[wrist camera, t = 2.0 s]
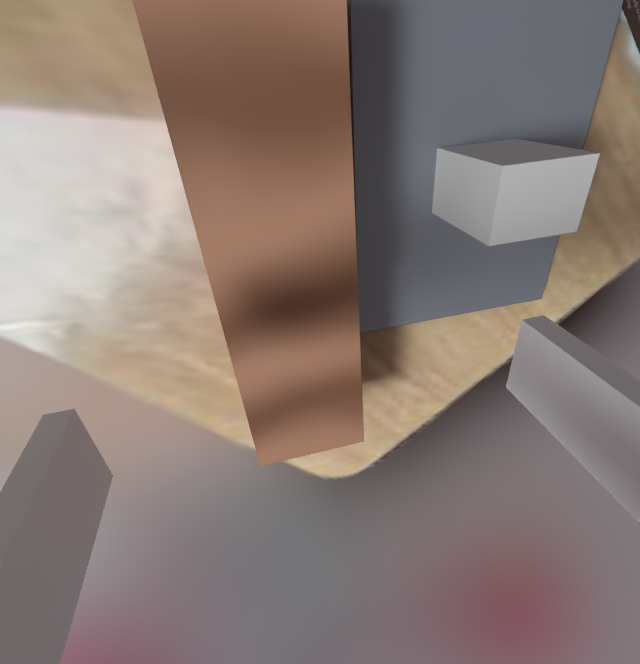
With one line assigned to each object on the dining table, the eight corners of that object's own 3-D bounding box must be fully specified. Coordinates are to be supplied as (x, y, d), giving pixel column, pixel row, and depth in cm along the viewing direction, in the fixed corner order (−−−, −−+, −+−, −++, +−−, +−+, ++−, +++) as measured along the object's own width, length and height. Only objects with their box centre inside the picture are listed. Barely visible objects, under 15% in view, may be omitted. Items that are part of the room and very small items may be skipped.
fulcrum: (342, -32, 15) (405, -94, 10) (616, -46, 16) (790, -104, 11) (354, 324, 23) (390, 388, 18) (531, 291, 25) (607, 342, 20)
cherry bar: (155, 18, 14) (129, -11, 10) (311, 5, 15) (345, -26, 11) (253, 405, 25) (260, 466, 21) (341, 385, 26) (363, 441, 22)
